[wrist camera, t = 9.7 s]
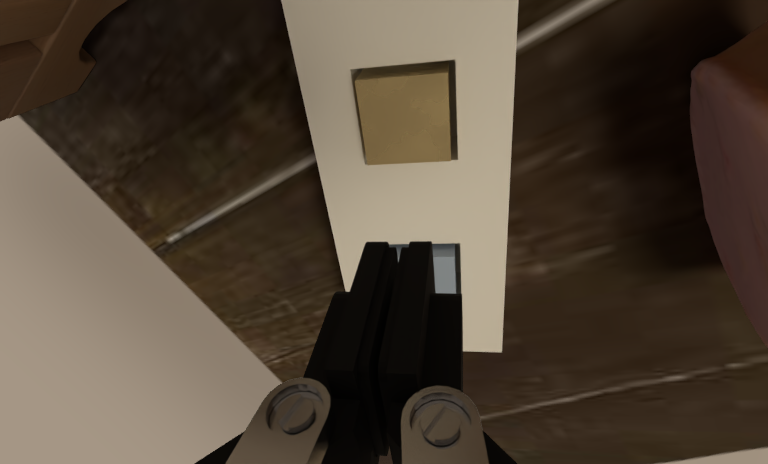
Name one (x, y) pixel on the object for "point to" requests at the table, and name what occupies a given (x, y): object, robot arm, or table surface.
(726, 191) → the face sculpture
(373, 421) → the robot arm
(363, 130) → the brass button
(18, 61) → the wooden toy
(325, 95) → the button console
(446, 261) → the slate-blue button
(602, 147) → the table surface
